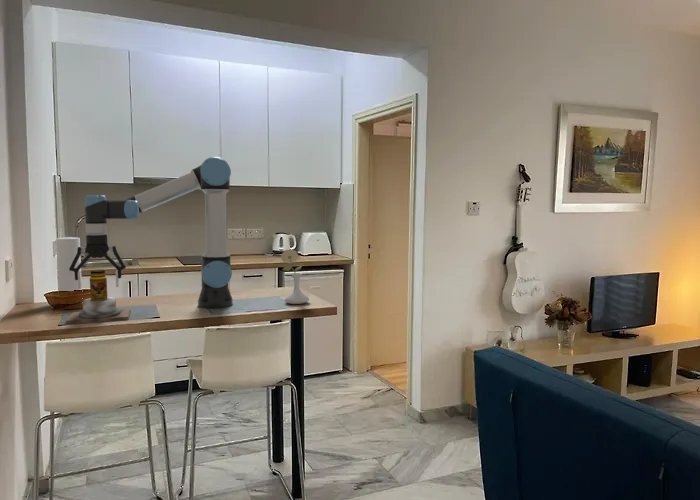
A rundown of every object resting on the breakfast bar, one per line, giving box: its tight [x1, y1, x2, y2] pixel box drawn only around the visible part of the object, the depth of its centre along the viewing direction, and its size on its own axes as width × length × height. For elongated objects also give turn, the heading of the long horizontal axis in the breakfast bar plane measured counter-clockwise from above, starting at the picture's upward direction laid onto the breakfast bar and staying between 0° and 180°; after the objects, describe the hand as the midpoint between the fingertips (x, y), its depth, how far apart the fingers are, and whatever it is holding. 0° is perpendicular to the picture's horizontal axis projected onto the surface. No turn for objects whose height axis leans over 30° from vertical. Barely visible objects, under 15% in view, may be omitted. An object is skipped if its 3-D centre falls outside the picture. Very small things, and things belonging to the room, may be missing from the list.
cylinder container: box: [55, 236, 83, 292], centre depth 239 cm, size 9×9×30 cm
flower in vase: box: [280, 248, 310, 305], centre depth 241 cm, size 13×11×25 cm
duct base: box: [65, 296, 132, 325], centre depth 211 cm, size 22×15×7 cm
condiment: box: [85, 269, 110, 302], centre depth 210 cm, size 7×8×12 cm
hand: (98, 287), depth 210 cm, fingers open, 13 cm apart
